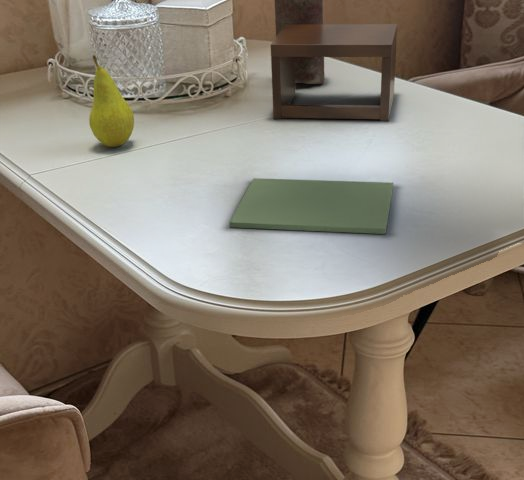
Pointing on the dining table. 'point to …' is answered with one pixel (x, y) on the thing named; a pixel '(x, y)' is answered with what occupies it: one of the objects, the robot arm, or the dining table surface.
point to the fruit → (109, 111)
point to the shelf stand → (331, 45)
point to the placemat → (315, 206)
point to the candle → (302, 12)
